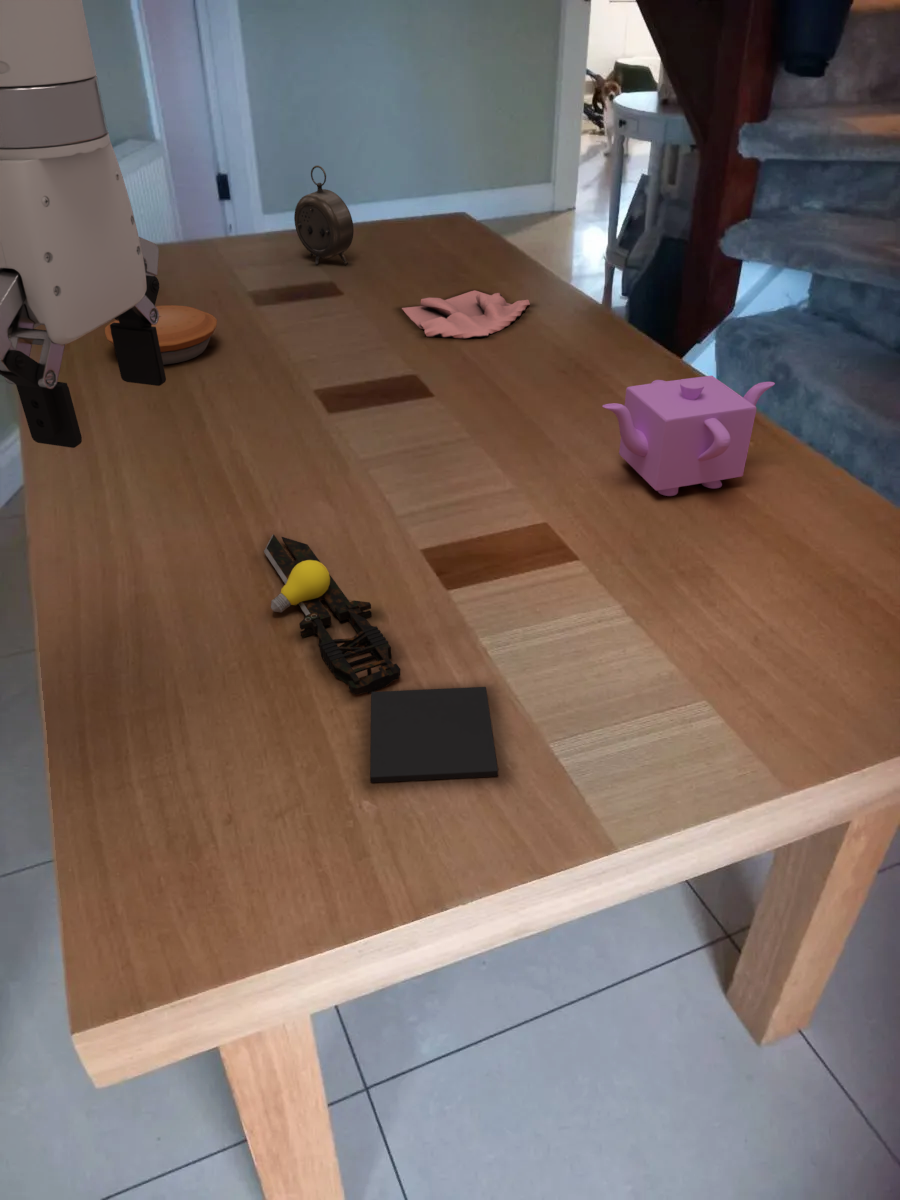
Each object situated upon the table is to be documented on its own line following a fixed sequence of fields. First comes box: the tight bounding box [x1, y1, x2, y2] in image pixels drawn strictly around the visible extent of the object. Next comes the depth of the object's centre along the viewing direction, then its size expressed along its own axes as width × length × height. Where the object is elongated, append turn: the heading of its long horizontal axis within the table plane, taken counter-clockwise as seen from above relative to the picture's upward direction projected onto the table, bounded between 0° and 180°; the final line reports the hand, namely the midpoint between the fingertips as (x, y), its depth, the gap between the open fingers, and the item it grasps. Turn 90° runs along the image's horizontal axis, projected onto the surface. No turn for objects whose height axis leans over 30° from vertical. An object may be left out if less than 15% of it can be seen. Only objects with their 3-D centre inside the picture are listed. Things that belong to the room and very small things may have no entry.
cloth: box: [401, 290, 531, 340], centre depth 143 cm, size 20×22×2 cm
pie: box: [104, 304, 218, 366], centre depth 131 cm, size 15×16×5 cm
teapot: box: [601, 375, 776, 497], centre depth 98 cm, size 15×13×11 cm
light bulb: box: [270, 560, 331, 613], centre depth 81 cm, size 3×6×4 cm
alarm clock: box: [293, 165, 355, 266], centre depth 163 cm, size 11×5×16 cm, turn 53°
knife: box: [263, 534, 401, 696], centre depth 81 cm, size 25×6×1 cm, turn 22°
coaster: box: [369, 686, 499, 783], centre depth 68 cm, size 9×9×1 cm
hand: (104, 410), depth 60 cm, fingers open, 9 cm apart
